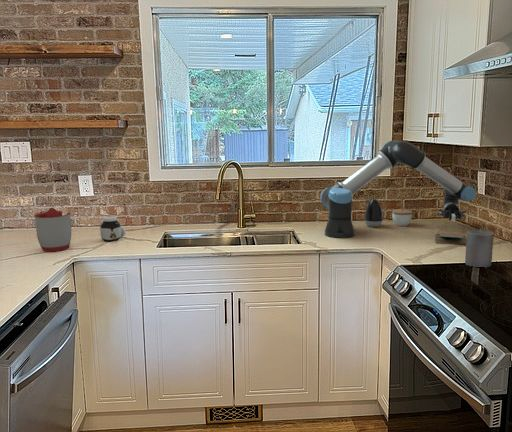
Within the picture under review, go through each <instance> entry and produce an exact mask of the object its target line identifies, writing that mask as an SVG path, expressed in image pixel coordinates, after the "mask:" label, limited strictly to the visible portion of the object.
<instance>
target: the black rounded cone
mask: <svg viewBox="0 0 512 432" xmlns="http://www.w3.org/2000/svg"><path fill="white" fill-rule="evenodd" d="M365 202H366V203H367V205H366V209H365V213H364V216H363V218H364V219H363V220H364V222H365V225H367V226H368V227H370V228H371V227H372V228H377V227H380V225H382V223H383V220H384V215H383V214H384V213H383V209H382V206H381V203H380V201H379V200H378V199H375V198H372V199H370V200H369V199H366V200H365Z"/></svg>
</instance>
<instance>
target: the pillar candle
mask: <svg viewBox="0 0 512 432" xmlns="http://www.w3.org/2000/svg"><path fill="white" fill-rule="evenodd" d="M494 235H495V233H494V231H492V230H488V229H482V228H478V229H477V228H473V229H468V230H466V240H467V242H466V245H465V260H464V263H465V265H466V266H468V265H469V266H468V267H471V266H473V267H472V268H475V267H485V268H484V269H488V268H487V267H489V268H491V267H492V261H493V249H494V248H493V246H494ZM490 266H491V267H490Z"/></svg>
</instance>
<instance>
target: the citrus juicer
mask: <svg viewBox="0 0 512 432" xmlns="http://www.w3.org/2000/svg"><path fill="white" fill-rule="evenodd" d="M33 217H34V220H35V229H36V237H37V241H38V243H39V245H40V246H39V247H40V249H41V250H42V251H43V252H52V253H56V252H59V251H60V252H61V251H64V250H65V251H66V250H67V249H69V248H70V246H71V241H72V222H73V219H72V218H71V211H69V212H67V213H66V214H64V215H63V211H62V210H57V209H56V208H54V207H50V208H49V209H48V210H47V211H42V212H39V213H35V214H34V215H33Z"/></svg>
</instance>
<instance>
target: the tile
mask: <svg viewBox="0 0 512 432" xmlns="http://www.w3.org/2000/svg"><path fill="white" fill-rule="evenodd" d="M439 234H440V236H442V237H458V238H463V235H465V234H464V232H455V231H454V232H453V231H439Z"/></svg>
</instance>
